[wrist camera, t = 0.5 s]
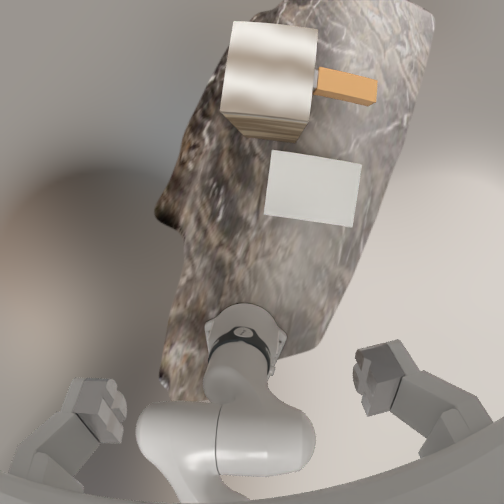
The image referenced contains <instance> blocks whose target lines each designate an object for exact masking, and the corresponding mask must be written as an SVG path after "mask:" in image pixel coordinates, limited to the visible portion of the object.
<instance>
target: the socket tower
mask: <svg viewBox="0 0 504 504" xmlns="http://www.w3.org/2000/svg"><path fill="white" fill-rule="evenodd" d="M317 38H318V29H311V28H304V27H297V26H289V25H280V24H270V23H258V22H240V21H234V22H233V28H232V34H231V40H230V46H229V52H228V58H227V65H226V71H225V78H224V85H223V92H222V99H221V106H220V112H221V113H222V114H223V115H224V116H225V117H226V118H227V119H228V120H229V121H230V122H231V123H232V124H233V125H234V126H235V127H236V128H237V129H238V130H239V131H240V132H241V133H242V134H243V135H244V136H245V137H248V138H258V139H266V140H274V141H282V142H289V143H296V141H297V140H298V138H299V136H300V135H301V133H302V132H303V130H304V128H305V127H306V125H307V124H308V122H309V117H310V108H311V99H312V90H313V80H314V70H315V60H316V49H317Z"/></svg>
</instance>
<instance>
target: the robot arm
mask: <svg viewBox="0 0 504 504" xmlns="http://www.w3.org/2000/svg"><path fill="white" fill-rule="evenodd" d="M209 330H210V331H209ZM205 334H206V340H207V346H208V352H209V358H208V367H207V369H206V372H205V375H204V378H203V389H204V393H205V395H206V397H207V398H208V400H209V401H210V402H211V403H204V402H192V401H182V400H180V401H166V402H156V403H151V404H150V405H148V406H147V407H146V408H145V409H144V410H143V412H142V413H141V415H140V417H139V418H138V421H137V425H136V439H137V443H138V446H139V448H140V450H141V452H142V453H143V455H144V456H145V457H146V458H147V459H148V460H149V461H150V462H151V463H153V464H154V465H155V466H156V467H157V468H158V469H159V470H160V471H161V472H162V474H163V475H164V476H165V477H166V479H167V480H168V481H169V483H170V484H171V486H172V488H173V489H174V491H175V493H176V495H177V497H178V499H179V502H180V503H160V502H159V503H158V502H144V501H133V500H124V499H115V498H108V497H101V496H95V495H90V494H84V493H83V491H84V487H83V485H82V484H81V483H80V482H78V481H77V480H76V479H75V478H74V476H75V475H76V473H77V472H78V471H79V470H80V468H81V467H82V466H83V465H84V463H85V462H86V461H87V460H88V459H89V457H90V456H91V455H92V454H93V452H94V451H95V450H96V449H97V447H98V446H99V445H100V443H117V444H119V443H121V440H122V435H123V430H124V428H123V426H122V425H121V423H122V422H123V421H124V420H125V419H126V414H127V404H126V401H125V398H124V396H123V394H122V393H120V392H119V391H117V390H116V389H117V384H116V383H115V381H114V379H102V378H100V379H99V378H74V379H73V380H72V382H71V384H70V387H69V389H68V392H67V395H66V397H65V400H64V402H63V405H62V408H61V411H60V412H56V413H55V414H54V415H53V416H51V417H50V418H49V419H48V420H47V421H46V422H44V423H43V424H42V425H41V426H40V427H39V428H37V429H36V430H35V431H34V432H33V433H32V434H31V435H29V436H28V437H27V438H26V439H25V440H24V441H22V442H21V443H20V444H19V445H18V446H17V448H16V451H15V454H14V457H13V460H12V463H11V466H10V469H9V472H8V473H6V472H3V471H0V504H504V417H502V418H501V419H499V420H497V421H496V422H494V423H493V421H492V420H491V418H490V416H489V415H488V413H487V412H486V410H485V408H484V407H483V406H482V404H481V402H480V401H479V399H478V398H477V396H475V395H473V394H471V393H469V392H466V391H465V390H462V389H461V388H458V387H456V386H454V385H452V384H450V383H448V382H446V381H444V380H442V379H440V378H438V377H436V376H434V375H432V374H430V373H428V372H426V371H424V370H423V371H420V370H419V368H418V367H417V365H416V364H415V362H414V361H413V359H412V358H411V356H410V354H409V353H408V351H407V350H406V348H405V347H404V346H403V344H402V342H401V341H400V340H398V339H397V340H394V341H390V342H386V343H382V344H378V345H374V346H370V347H366V348H362V349H358V350H357V352H356V355H355V359H356V361H357V364H356V365H355V366H354V367H353V381H354V385H355V388H356V390H357V392H358V393H359V394H361V395H363V397H362V401H361V403H362V405H363V407H364V410H365V412H366V414H367V416H372V415H376V414H379V413H384V412H387V411H390V412H391V413H393V414H394V415H395V416H397V417H398V418H399V419H401V420H402V421H403V422H405V423H406V424H408V425H409V426H410V427H412V428H413V429H414V430H416V431H417V432H418V433H420V434H421V435H423V436H424V437H425V438H427V439H426V441H425V443H424V444H423V446H422V447H421V449H420V451H419V455H420V458H421V459H418V460H416V461H413V462H411V463H408V464H405V465H403V466H400V467H397V468H395V469H392V470H389V471H386V472H383V473H380V474H376V475H373V476H370V477H367V478H364V479H360V480H357V481H353V482H349V483H345V484H342V485H337V486H333V487H329V488H325V489H320V490H315V491H311V492H305V493H300V494H294V495H288V496H282V497H275V498H267V499H259V500H250V499H249V498H247V497H246V496H244V495H242V494H240V493H238V492H236V491H233V490H232V489H230V488H229V487H228V486H227V485H226V484H224V482H223V481H222V479H221V478H220V475H234V476H256V477H269V476H276V475H282V474H287V473H292V472H297V471H300V470H301V469H302V468H304V466H305V465H306V464H307V463H308V462H309V460H310V459H311V457H312V455H313V452H314V449H315V444H316V436H315V431H314V427H313V425H312V423H311V421H310V419H309V418H308V417H307V416H306V415H305V413H303V412H302V411H301V410H299V409H296V408H294V407H291V406H289V405H287V404H285V403H284V402H282V401H280V400H279V399H278V398H277V397H276V396H274V395H273V394H272V393H271V391H270V390H269V388H268V383H267V381H268V379H269V377H270V376H273V374H274V371H275V367H274V366H275V364H276V362H277V359H278V357H279V355H280V353H281V350H282V348H283V346H284V344H285V341H286V339H287V335H286V333H285V332H284V331H283V330H282V329H280V328H279V327H278V326H277V324H276V322H275V321H274V319H273V317H272V316H271V315H270V314H269V313H268V312H267V311H266V310H264V309H263V308H261V307H259V306H256V305H253V304H247V303H241V304H235V305H232V306H230V307H228V308H226V309H225V310H223V311H222V312H221V313H220V314H219V315H218V316H217V317H216V318H214V319H212V320H209V321H208V322H206V324H205ZM279 340H280V341H281V342H279Z"/></svg>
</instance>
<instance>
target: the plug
mask: <svg viewBox="0 0 504 504" xmlns="http://www.w3.org/2000/svg"><path fill="white" fill-rule="evenodd" d="M312 91H313V95H318V96H324V97H329V98H334V99H338V100H343V101H347V102H352V103H356V104H360V105H364V106H369V105H371V104H373V103H376V95H377V80H373V79H370V78H366V77H362V76H358V75H354V74H350V73H346V72H341V71H337V70H332V69H328V68H323V67H319V68H318V70H314V80H313V90H312Z"/></svg>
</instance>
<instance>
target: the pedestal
mask: <svg viewBox="0 0 504 504" xmlns="http://www.w3.org/2000/svg"><path fill="white" fill-rule="evenodd" d="M361 167H362V164H357V163H352V162H346V161H341V160H335V159H330V158H324V157H318V156H311V155H305V154H298V153H291V152H284V151H277V150H272V154H271V162H270V169H269V177H268V185H267V193H266V201H265V209H264V215H271V216H278V217H285V218H293V219H300V220H306V221H313V222H320V223H327V224H333V225H340V226H346V227H352V226H353V220H354V214H355V208H356V202H357V195H358V189H359V182H360V175H361Z"/></svg>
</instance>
